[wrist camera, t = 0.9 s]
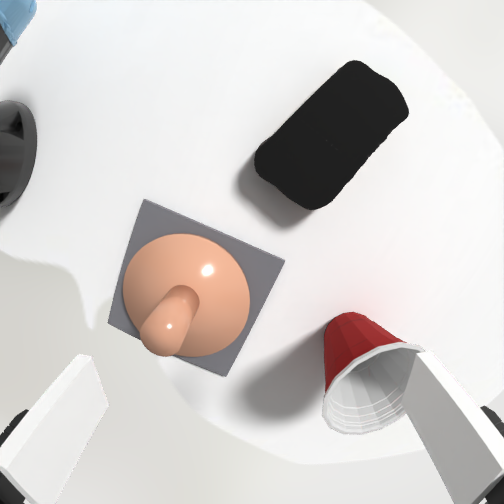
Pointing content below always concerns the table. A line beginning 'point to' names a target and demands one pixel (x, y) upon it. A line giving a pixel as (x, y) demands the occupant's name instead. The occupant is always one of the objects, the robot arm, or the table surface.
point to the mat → (249, 257)
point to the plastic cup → (364, 374)
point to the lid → (186, 295)
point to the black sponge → (331, 135)
